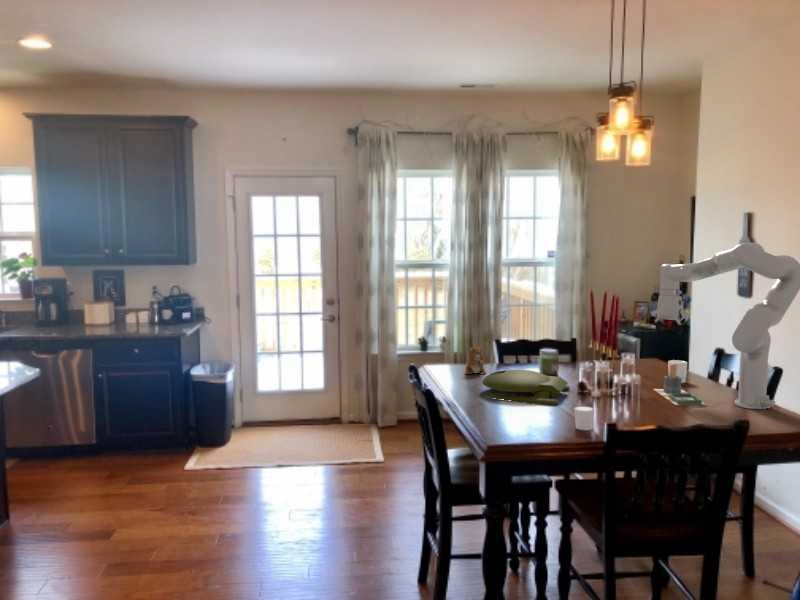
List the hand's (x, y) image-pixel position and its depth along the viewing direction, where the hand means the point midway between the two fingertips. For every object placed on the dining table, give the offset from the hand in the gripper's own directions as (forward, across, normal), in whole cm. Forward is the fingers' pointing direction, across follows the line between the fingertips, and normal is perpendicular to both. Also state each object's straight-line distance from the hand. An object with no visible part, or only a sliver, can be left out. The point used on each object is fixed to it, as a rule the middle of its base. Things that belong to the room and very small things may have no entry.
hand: (669, 332), depth 272 cm
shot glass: (+26, -14, +71) cm, 77 cm away
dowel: (+24, -5, +5) cm, 25 cm away
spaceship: (+26, +34, +53) cm, 68 cm away
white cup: (+26, +6, -15) cm, 30 cm away
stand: (+25, -10, +9) cm, 29 cm away
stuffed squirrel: (+25, +79, +41) cm, 93 cm away
